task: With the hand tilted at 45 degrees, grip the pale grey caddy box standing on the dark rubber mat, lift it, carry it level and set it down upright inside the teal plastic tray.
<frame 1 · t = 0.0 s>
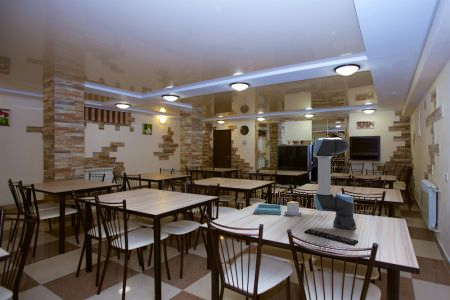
hand: (317, 179, 236), 28 cm above the table, tool pointing down, fingers open, 13 cm apart
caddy: (293, 213, 218), point 1 cm above the table, touching dock mat
tray: (268, 211, 229), on the table
black keyboard: (329, 238, 163), on the table
dock mat: (293, 214, 218), on the table
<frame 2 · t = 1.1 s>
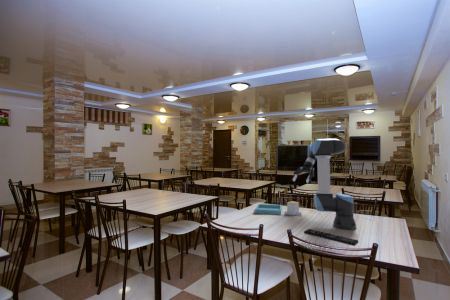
hand: (300, 181, 225), 28 cm above the table, tool tilted 45°, fingers open, 13 cm apart
nothing on the table moved.
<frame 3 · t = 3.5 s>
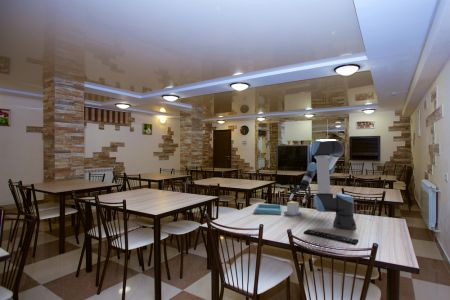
hand: (296, 200, 223), 11 cm above the table, tool tilted 45°, fingers open, 13 cm apart
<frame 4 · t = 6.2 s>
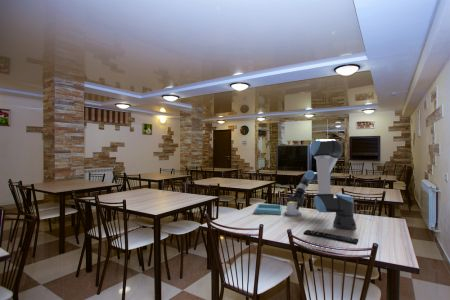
hand: (290, 211, 216), 4 cm above the table, tool tilted 45°, fingers closed on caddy, 7 cm apart
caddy: (293, 213, 218), point 1 cm above the table, touching dock mat, gripper
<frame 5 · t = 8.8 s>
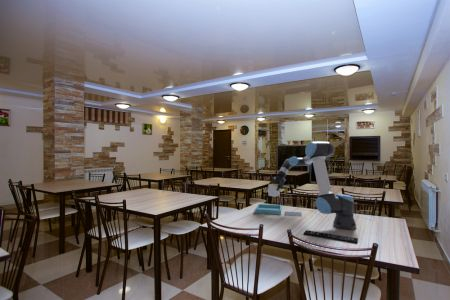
hand: (271, 192, 226), 18 cm above the table, tool tilted 45°, fingers closed on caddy, 7 cm apart
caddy: (273, 195, 228), point 15 cm above the table, touching gripper
when the fingers open (6 cm above the table, at t = 11.6 s): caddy drops 1 cm, resting on tray.
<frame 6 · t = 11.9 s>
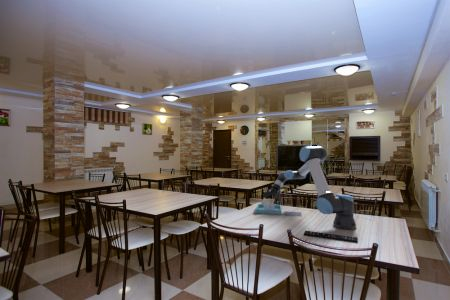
hand: (266, 205, 227), 6 cm above the table, tool tilted 45°, fingers open, 10 cm apart
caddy: (269, 210, 229), point 1 cm above the table, touching tray
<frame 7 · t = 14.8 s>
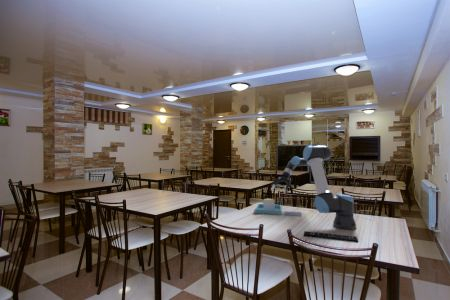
hand: (277, 191, 236), 17 cm above the table, tool tilted 45°, fingers open, 13 cm apart
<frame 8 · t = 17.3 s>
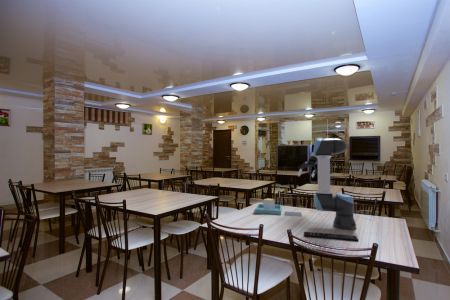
hand: (305, 175, 224), 33 cm above the table, tool tilted 45°, fingers open, 13 cm apart
at the end: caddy inside the target area on the tray (0.1 cm from its centre), point 1.0 cm above the tray's base; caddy tilted 0°; the gripper is holding nothing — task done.
